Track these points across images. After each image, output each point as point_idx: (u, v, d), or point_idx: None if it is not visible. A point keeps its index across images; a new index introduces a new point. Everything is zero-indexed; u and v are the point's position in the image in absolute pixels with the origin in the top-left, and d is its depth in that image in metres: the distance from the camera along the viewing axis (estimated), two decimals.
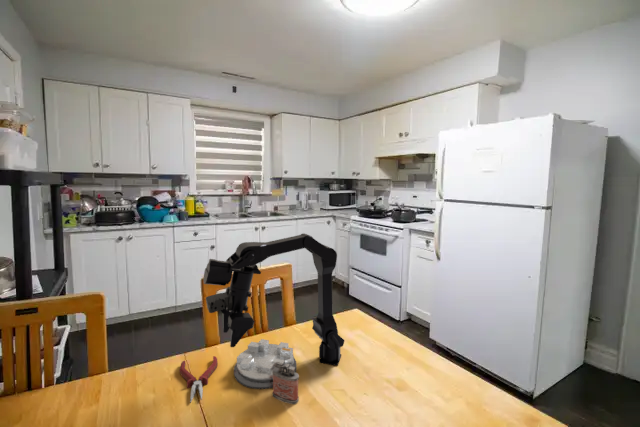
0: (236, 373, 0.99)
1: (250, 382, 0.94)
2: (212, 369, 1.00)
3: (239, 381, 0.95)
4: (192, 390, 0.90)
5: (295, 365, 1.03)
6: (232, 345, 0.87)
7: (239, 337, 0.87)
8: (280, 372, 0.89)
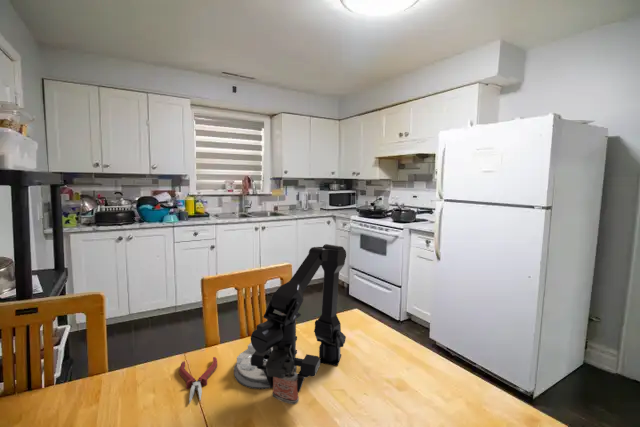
0: (236, 373, 0.99)
1: (250, 382, 0.94)
2: (212, 370, 0.99)
3: (239, 381, 0.95)
4: (191, 391, 0.90)
5: None
6: (299, 390, 0.88)
7: (303, 379, 0.89)
8: None
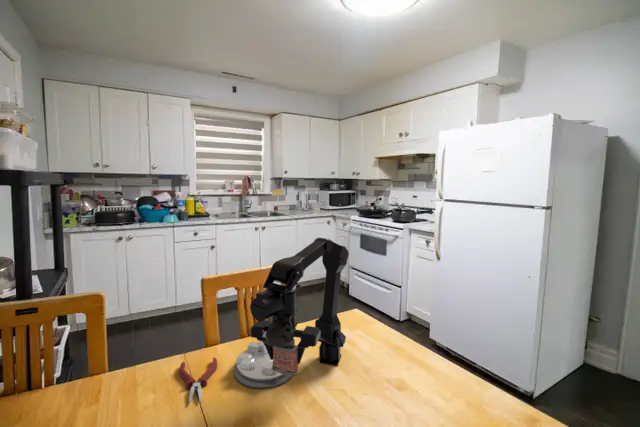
0: (236, 373, 0.99)
1: (250, 382, 0.94)
2: (211, 371, 0.99)
3: (239, 381, 0.95)
4: (191, 392, 0.89)
5: None
6: (299, 362, 0.87)
7: (303, 351, 0.88)
8: None
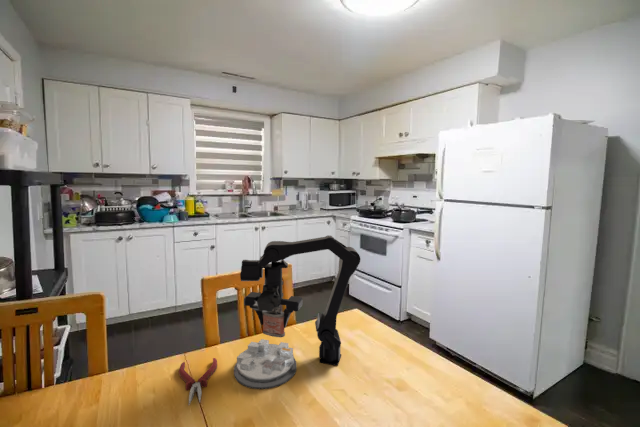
0: (236, 373, 0.99)
1: (250, 382, 0.94)
2: (211, 371, 0.99)
3: (239, 381, 0.95)
4: (191, 392, 0.89)
5: (295, 365, 1.03)
6: (285, 325, 1.05)
7: None
8: (269, 312, 1.05)
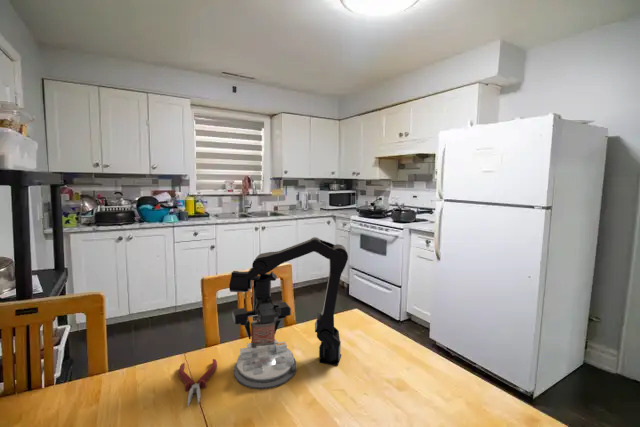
0: (236, 373, 0.99)
1: (250, 382, 0.94)
2: (211, 372, 0.98)
3: (239, 381, 0.95)
4: (190, 394, 0.88)
5: (295, 365, 1.03)
6: None
7: None
8: (258, 323, 1.06)
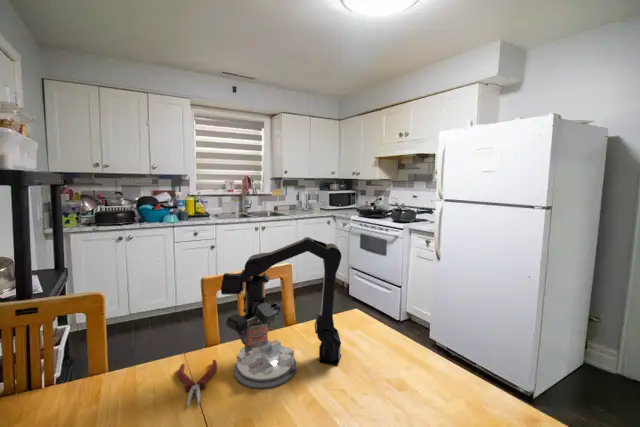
0: (236, 373, 0.99)
1: (250, 382, 0.94)
2: (211, 373, 0.98)
3: (239, 381, 0.95)
4: (189, 395, 0.88)
5: (295, 365, 1.03)
6: None
7: None
8: (252, 325, 1.05)
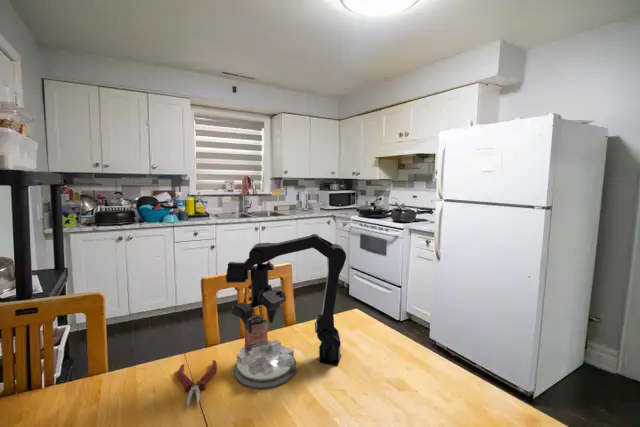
0: (236, 373, 0.99)
1: (250, 382, 0.94)
2: (211, 374, 0.98)
3: (239, 381, 0.95)
4: (189, 395, 0.88)
5: (295, 365, 1.03)
6: None
7: None
8: (252, 324, 1.05)
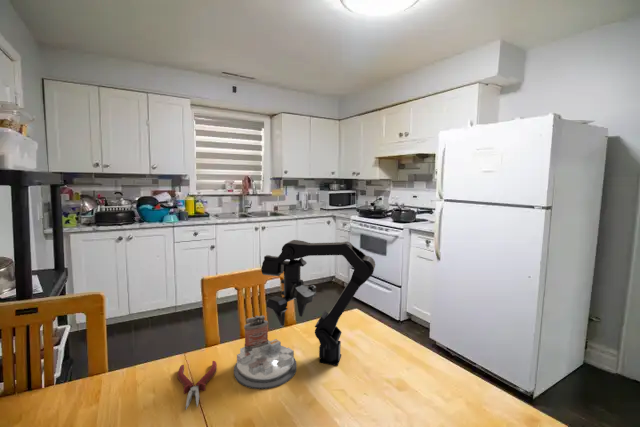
0: (236, 373, 0.99)
1: (250, 382, 0.94)
2: (210, 374, 0.97)
3: (239, 381, 0.95)
4: (188, 396, 0.87)
5: (295, 365, 1.03)
6: None
7: None
8: (253, 325, 1.05)
